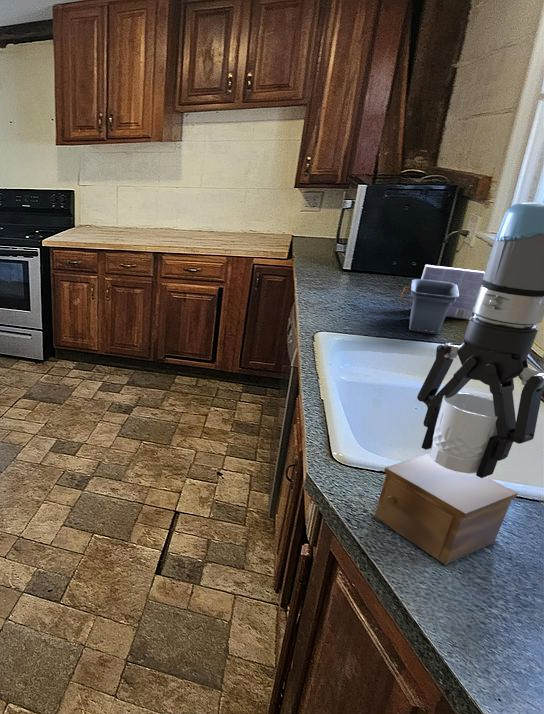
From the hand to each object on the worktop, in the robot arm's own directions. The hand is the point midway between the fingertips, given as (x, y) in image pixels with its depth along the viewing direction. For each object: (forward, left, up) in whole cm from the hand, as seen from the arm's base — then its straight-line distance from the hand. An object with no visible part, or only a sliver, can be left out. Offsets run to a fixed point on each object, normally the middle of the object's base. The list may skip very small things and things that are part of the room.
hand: (455, 460), depth 82 cm
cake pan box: (+77, -123, -14) cm, 146 cm away
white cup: (0, 0, 0) cm, 0 cm away
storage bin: (+71, -102, -14) cm, 125 cm away
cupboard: (0, 0, -13) cm, 13 cm away
